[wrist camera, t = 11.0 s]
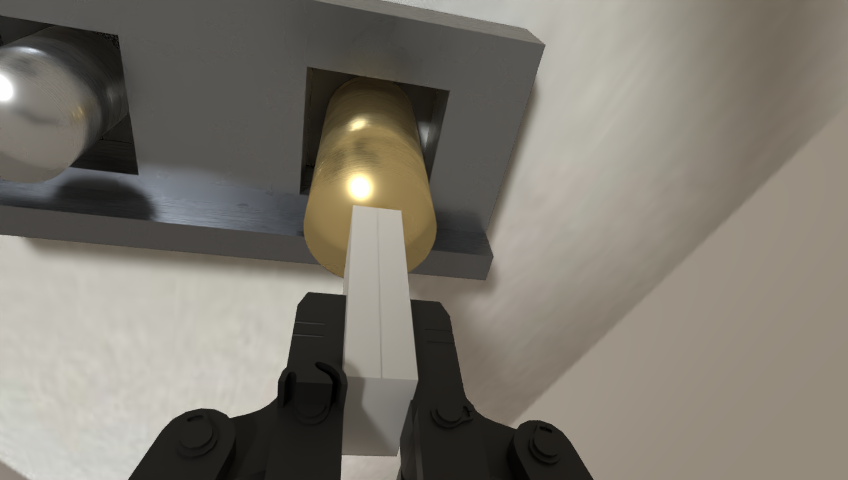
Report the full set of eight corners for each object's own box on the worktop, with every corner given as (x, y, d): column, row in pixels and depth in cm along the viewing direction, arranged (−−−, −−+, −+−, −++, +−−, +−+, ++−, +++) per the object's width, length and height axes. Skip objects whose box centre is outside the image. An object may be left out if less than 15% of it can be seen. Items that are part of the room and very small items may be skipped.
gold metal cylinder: (329, 68, 23) (307, 163, 15) (421, 83, 23) (449, 181, 15) (322, 154, 25) (300, 276, 17) (406, 165, 26) (423, 287, 18)
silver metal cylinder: (16, 15, 20) (-97, 52, 15) (130, 34, 21) (58, 75, 16) (41, 115, 23) (-48, 175, 18) (143, 129, 24) (83, 189, 19)
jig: (-143, -104, 18) (-296, -104, 14) (526, 29, 22) (560, 57, 18) (-42, 166, 24) (-126, 222, 20) (468, 225, 29) (485, 280, 24)
